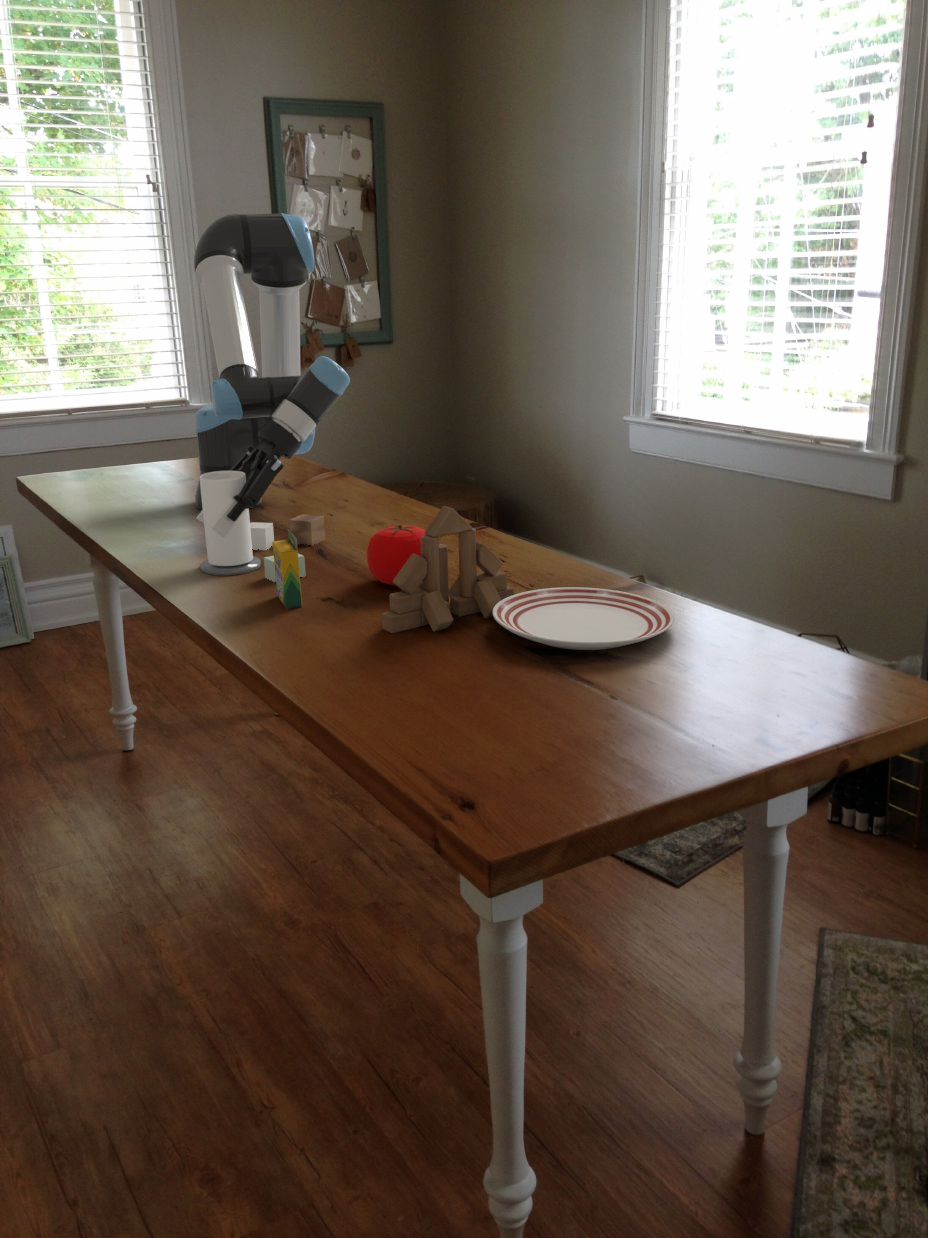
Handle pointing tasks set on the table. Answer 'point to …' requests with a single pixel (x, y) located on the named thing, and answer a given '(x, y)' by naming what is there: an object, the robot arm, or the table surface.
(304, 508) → the table surface
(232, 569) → the coaster
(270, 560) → the sage painted block
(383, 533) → the tomato
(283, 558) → the crayon box
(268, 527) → the off-white plastic block
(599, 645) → the dinner plate
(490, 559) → the wooden blocks
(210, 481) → the cup
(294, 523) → the walnut block
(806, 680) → the table surface
